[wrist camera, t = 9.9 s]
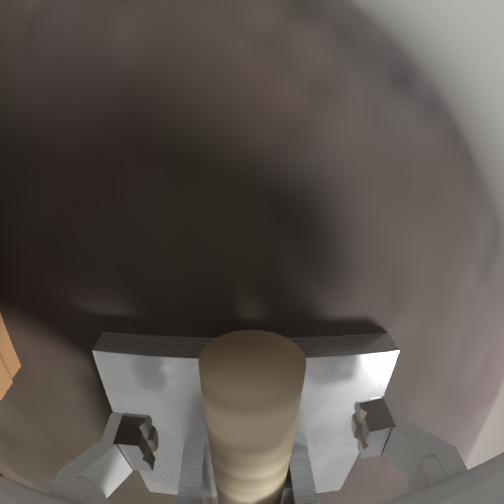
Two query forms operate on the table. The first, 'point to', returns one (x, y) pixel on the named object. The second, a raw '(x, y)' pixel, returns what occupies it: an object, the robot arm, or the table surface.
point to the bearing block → (193, 418)
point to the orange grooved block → (6, 360)
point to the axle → (251, 412)
